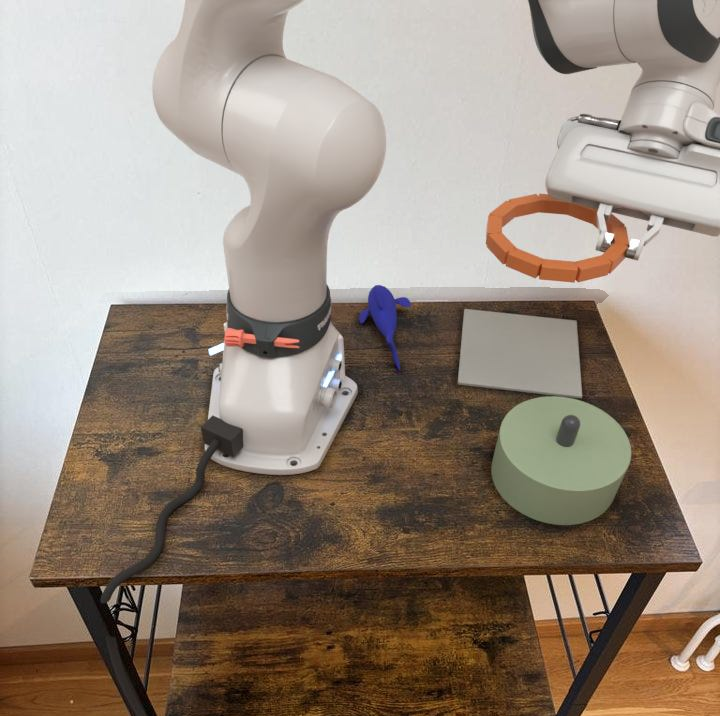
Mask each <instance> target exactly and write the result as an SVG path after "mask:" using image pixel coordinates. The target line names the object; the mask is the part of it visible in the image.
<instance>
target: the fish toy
mask: <svg viewBox="0 0 720 716" xmlns="http://www.w3.org/2000/svg"><path fill="white" fill-rule="evenodd" d="M397 305H399V306H402V307H405V308H410V307H411V305H412V304H411V301H410V299H409V298H408V297H406V296H402V297H396V298H395V297H394V295H393V293H392V292H391V291H390V290H389V289H388V288H387V287H386V286H384V285H382V284H375V285H374V286H372V288H371V289H370V290H369V293H368V297H367V306H368V307H367V308H366V309H364V310H362V311H361V312H360V313H359V317H358V320H359V323H360V324H361V325H362V324H364V323H365V322H366V320H367V318H368V317H369V314H370V316H371V317H372V320H373V322H374V324H375V326H376V328H377V330H378V331H379V332H380V334H382V335H383V336H384V338H385V341H386V344H387V347H388V349H389V351H390V354H391V356H392V360H393V362H394V365H395V366H396V368H397V370H398V371H399V372H401V369H402V368H401V364H400V363H401V362H400V359H399V354H398V351H397V348H396V345H395V342H394V337H395V334H396V330H397V323H398V319H397V318H398V313H397V312H398V311H397Z"/></svg>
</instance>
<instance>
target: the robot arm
mask: <svg viewBox="0 0 720 716" xmlns="http://www.w3.org/2000/svg"><path fill="white" fill-rule="evenodd" d="M304 1H305V0H185V1H184V8H183V14H182V19H181V22H180V25H179V30H178V32H177V34H176V36H175V38H174V39H173V40H172V41H171V42H170V43H169V44H168V45H167V46H166V47H165V49H164V50H162V51H163V52H161V54H160V56H159V58H158V60H157V63H156V65H155V69H154V72H153V76H152V88H151V89H152V91H151V92H152V93H151V94H152V101H153V105H154V109H155V112H156V114H157V117H158V119H159V120H160V122H161V123H162V125H163V126H164V127H165V128H166V129H167V130H168V131H169V132H170V133H172V135H174V136H175V137H176V138H177V139H178V140H179V141H180V142H182V143H183V144H184V145H185V146H186V147H187V148H189V149H190V150H191V151H192V152H193V153H195V154H197V155H198V156H200V157H202V158H204V159H206V160H208V161H211V162H213V163H215V164H216V165H219V166H221V167H223V168H225V169H227V170H229V171H231V172H233V173H235V174H237V175H239V176H240V177H242V178H243V179H244V181H245V183H246V185H247V187H248V189H249V194H250V204H249V205H247V206H245V207H243V208H242V209H241V210H240V211H238V212H237V213H236V214H235V215H233V217H232V219H231V220H230V221H229V223H228V224H227V226H226V227H225V230H224V232H223V237H222V245H223V253H224V261H225V268H226V276H227V283H228V290H227V293H226V306H225V312H226V313H225V314H226V322H224V323H223V329H224V340H223V342H222V343H220V344H218V345H215V346H212V347H210V348H208V355H210V356H213V355H215V354H217V353H220V352H222V362H221V363H219V365H218V366H217V367H216V368H215V369H214V371H213V373H212V374H213V375H212V381H211V382H212V383H211V390H210V399H209V400H210V401H209V407H208V415H207V420H206V421H205V422H204V423H203V424H202V425H201V426H200V429H201V434H202V439H203V444H204V452H203V454H202V456H201V458H200V460H199V461H198V464H197V466H196V470H195V471H196V472H195V481H194V483H193V484H192V486H191V487H190V488H189V489H187V491H186V492H184V493H182V494H181V495H179V496H178V497H176V498H174V499H173V500H171V501H170V502H169V503H168V504H166V505H165V506H164V508H162V510H161V512H160V514H159V515H158V518H157V520H156V526H155V539H154V544H153V546H152V548H151V550H150V552H149V553H148V554H147V555H146V556H145V558H143V559H142V560H140V561H139V562H137V563H135V564H133V565H131V566H129V567H127V568H125V569H123V570H122V571H120V572H119V573H118V574H116V575H115V576H113V577H112V578H111V580H109V582H108V583H107V584H106V586H105V588H104V590H103V592H102V594H101V596H100V600H99V601H100V603H101V604H108V602H110V600H111V598H112V596H113V594H114V593H115V591H116V590H117V588H118V587H119V586H120V585H121V584H122V583H124V582H125V581H127V580H129V579H130V578H131V577H134V576H135V575H137V574H139V573H141V572H143V571H145V570H146V569H147V568H149V567H150V566H152V564H154V563H155V562H156V560H157V559H158V558H159V557H160V555H161V553H162V551H163V550H164V549H163V548H164V544H165V536H166V534H165V533H166V526H167V525H166V524H167V521H168V519H169V517H170V515H171V514H172V513H173V512H174V511H175V510H177V508H179V507H180V506H182V505H184V504H185V503H188V502H189V501H190V500H191V499H193V498H194V497H196V495H198V493H199V491H201V489H202V488H203V486H204V484H205V473H206V469H207V466H208V464H209V462H210V460H212V461H213V462H215V463H217V464H219V465H221V466H223V467H225V468H229V469H233V470H236V471H241V472H246V473H253V474H259V475H268V476H269V475H272V476H291V475H299V474H305V473H308V472H312V471H315V470H318V469H319V468H320V466H321V465H322V463H323V461H324V459H325V458H326V455H327V454H328V452H329V449H330V448H331V446H332V444H333V442H334V440H335V438H336V437H337V434H338V433H339V430H340V429H341V427H342V425H343V423H344V421H345V419H346V417H347V416H348V414H349V412H350V409H352V408H351V407H352V406H353V404H354V402H355V400H356V399H357V396H358V394H359V389H358V388H359V387H358V384H357V382H356V381H354V380H353V379H352V378H350V377H349V376H347V375H346V365H345V364H346V363H345V345H344V344H345V343H344V337H343V336H342V334H341V333H340V332H339V330H338V329H337V328H336V327H335V326H334V324H333V323H332V321H331V320H332V311H333V310H332V308H333V302H332V297H331V290H330V287H329V285H328V283H327V279H328V278H327V272H328V271H327V270H328V269H327V268H328V243H329V242H328V241H329V235H330V231H331V228H332V226H333V222H334V221H335V219H336V218H337V216H338V214H340V213H342V211H344V210H346V209H347V210H348V209H349V208H351V207H353V206H354V205H356V204H357V203H359V202H360V201H361V200H363V198H365V196H367V194H368V193H369V192H370V191H371V190H372V188H373V187H374V186H375V184H376V183H377V181H378V179H379V177H380V175H381V172H382V170H383V167H384V164H385V159H386V153H387V133H386V132H387V131H386V126H385V122H384V119H383V116H382V114H381V111H380V110H379V109H378V107H377V106H376V105H375V104H374V103H373V102H371V101H370V100H369V99H368V98H366V97H365V96H363V95H362V94H361V93H360V92H358V91H357V90H356V89H354V88H352V87H351V86H349V84H347V83H345V82H344V81H343V80H341V79H340V78H338V77H336V76H334V75H331V74H328V73H325V72H324V71H320V70H318V69H316V68H315V69H314V68H312V67H311V66H310V67H309V66H307V65H304V64H302V63H298V62H296V61H293V60H290V59H288V58H287V57H286V54H285V51H284V31H285V25H286V22H287V21H286V20H287V17H288V14H289V11H291V10H292V9H294V8H295V7H297V6H299V5H301V4H302V3H303V2H304ZM527 2H528V6H529V11H530V12H529V13H530V21H531V27H532V35H533V39H534V42H535V45H536V48H537V50H538V52H539V54H540V56H541V57H542V58H543V60H544V61H545V62H546V63H547V65H549V67H550V68H552V70H554V71H555V72H556V73H559V74H562V75H572V74H577V73H580V72H585V71H589V70H594V69H597V68H602V67H612V66H620V65H629V64H630V65H631V64H637V65H638V66H639V67H640V68H641V73H640V75H639V77H638V79H637V80H636V82H635V83H634V85H632V87H631V90H630V93H629V96H628V100H627V102H626V105H625V107H624V111H623V113H622V116H621V119H620V120H618V119H613V118H610V117H598V116H593V115H592V114H589V113H580V114H579V115H578V116H573V117H570V118H568V119H567V120H566V121H565V122H564V123H563V124H562V126H561V128H560V131H559V134H558V136H557V142H556V145H557V151H556V153H555V155H554V157H553V159H552V162H551V164H550V166H549V168H548V171H547V174H546V176H545V180H544V181H545V182H544V188H545V190H546V191H545V192H546V194H548V195H549V197H550V198H552V199H557V200H561V201H565V202H569V203H574V204H578V205H582V206H586V207H591V208H595V209H598V211H597V217H596V220H597V225H598V229H599V230H598V229H597V230H598V233H599V234H598V235H599V236H598V239H597V241H596V245H595V251H596V252H597V251H598V252H601V253H604V252H605V251H606V250H607V249H609V248H610V246H611V244H612V242H613V238H614V234H612V233H608V232H607V228H606V223H605V221H609V219H610V216H611V213H612V214H616V215H620V216H625V217H630V218H634V219H637V220H642V221H647V223H648V224H647V226H646V232H645V233H644V234H643V235H642V236H641V237H640V238H639V239H636V238H633V237H632V238H631V239H630V241H629V247H628V249H627V252H626V255H625V259H629V260H633V261H639V260H640V256H641V253H642V251H643V248H644V247H645V246H646V245H648V244H649V243H650V242H651V241H652V240H653V239H654V238H655V237H657V236H658V235H659V234H660V231H661V228H662V226H668V227H671V228H676V229H679V230H680V229H681V230H685V231H688V232H689V231H690V232H693V233H697V234H702V235H706V236H710V237H719V236H720V113H718V112H717V111H715V110H714V109H715V105H716V97H717V96H716V95H717V90H718V86H719V84H720V0H527ZM105 640H106V644H107V645H106V646H107V650H108V653H109V656H110V661H111V664H112V667H113V670H114V673H115V676H116V678H117V681H118V683H119V685H120V687H121V690H122V692H123V694H124V696H125V698H126V699H127V701H128V703H129V705H130V707H131V708H132V710H133V711H134V713H135V715H136V716H147V715H146V713H145V711H144V709H143V708H142V706H141V705H140V703H139V701H138V698H137V697H136V695H135V692H134V691H133V689H132V686H131V685H130V683H129V680H128V677H127V675H126V672H125V668H124V666H123V662H122V659H121V655H120V651H119V647H118V642H117V637H115V636H109V635H105Z"/></svg>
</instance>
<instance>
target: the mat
mask: <svg viewBox="0 0 720 716" xmlns="http://www.w3.org/2000/svg"><path fill="white" fill-rule="evenodd" d="M579 348H580V347H579V334H578V321H577V320H573V319H565V318H564V319H563V318H556V317H555V318H554V317H547V316H545V317H544V316H536V315H528V314H517V313H510V312H509V313H507V312H500V311H499V312H498V311H490V310H481V309H480V310H479V309H472V308H471V309H469V308H464V309H463V318H462V329H461V341H460V350H459V351H460V353H459V361H458V365H459V366H458V373H457V374H458V375H457V385H459V386H468V387H477V388H484V389H485V388H486V389H493V390H503V391H512V392H521V393H530V394H537V395H545V396H557V397H567V398H572V399H583V388H582V386H583V385H582V375H581V374H582V373H581V362H580V361H581V360H580V349H579Z"/></svg>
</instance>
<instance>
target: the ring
mask: <svg viewBox="0 0 720 716" xmlns="http://www.w3.org/2000/svg"><path fill="white" fill-rule="evenodd" d="M597 211H598V209H595V208H591V207H586V206H582V205H578V204H574V203H569V202H565V201H561V200H557V199H552V198H550V197H549V195H548V193H539V194H537V193H533V194H529V195H524V196H519V197H514V198H510V199H508V200H505V201H503V202H502V203H501V204H500V205H499V206H497V207H496V208H495V209H493V210H492V211H491V212H489V215H488V217H487V222H486V230H485V231H486V233H485V245H486V248H487V249H488V251H490V252H491V253H492V254H493V255H494V257H495V258H496V259H497V260H498V261H499V262H500V263H501V264H502V265H505V267H507V268H509V269H511V270H513V271H517V272H519V273H521V274H523V275H526V276H527V277H531V278H533V279H537V278H538V279H539V280H542V281H552V282H562V283H563V282H564V283H573V284H574V283H575V282H577V283H583V282H586V281H590V280H594V279H598V278H602V277H606V276H608V275H609V274H612V272H614V271H615V269H616V268H617V267H619V266H620V264H621V263H622V262H623V261H624V260H625V259H626V257H625V255H626V252H627V249H628V247H629V244H630V241H629V235H628V228H627V226H626V225H625V223H624V222H622V221H621V220H620V219H619V218H617V216H616V215H614V213H611V216H610V219H609V221H605V223H606V228H607V232H608V233H612V234H614V238H613V242H612V244H611V246H610V248H609V249H607V250H606V251H605V252H602V254H601V255H597V256H593V257H589V258H584V259H580V260H575V261H571V260H561V259H548V258H542V257H540V256H537V255H535V254H533V253H530V252H528V251H525V250H522V249H521V248H518V247H517V246H515V245H514V244H513V243H512V242H511V240H510V239H509V238H508V237H507V236H506V235H505V234H504V233H503V228H504V227H505V226H506V225H508V224H509V223H510V222H512V221H513V220H514V219H515V218H519V217H524V216H529V215H535V214H538V213H541V214H553V215H565V216H569V217H572V218H574V219H577V220H580V221H583V222H585V223H588V224H591V225H592V226H594V227H595V228H596V229H597V230H598V231H599V229H598V225H597V220H596V217H597Z"/></svg>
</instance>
